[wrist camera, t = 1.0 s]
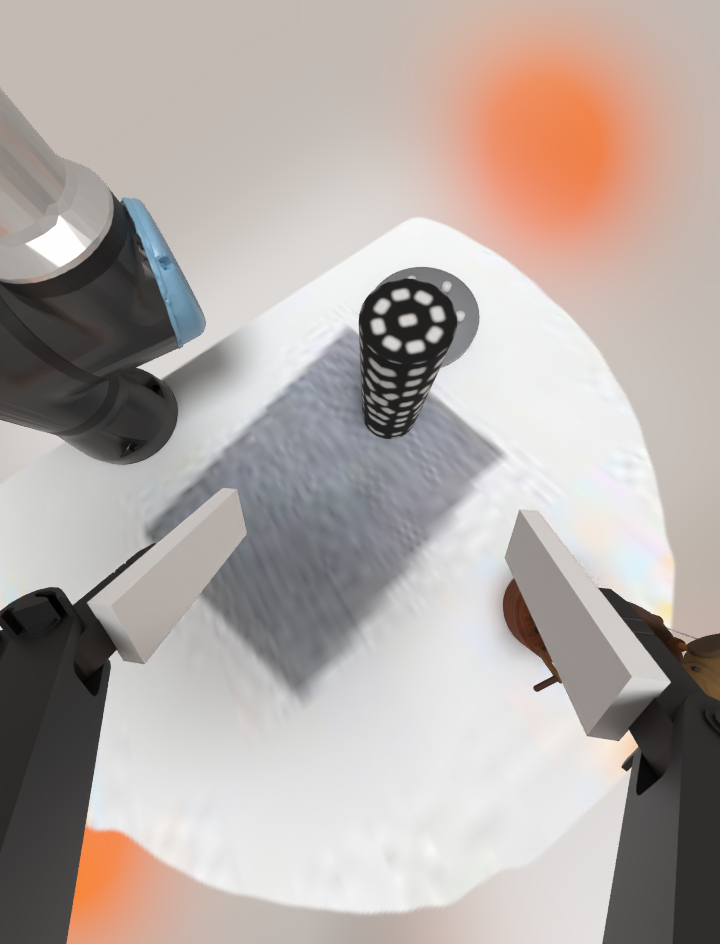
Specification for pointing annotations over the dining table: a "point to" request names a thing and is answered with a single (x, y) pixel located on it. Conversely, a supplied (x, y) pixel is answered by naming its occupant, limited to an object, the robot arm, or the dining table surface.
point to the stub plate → (459, 298)
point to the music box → (707, 659)
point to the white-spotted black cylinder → (402, 351)
